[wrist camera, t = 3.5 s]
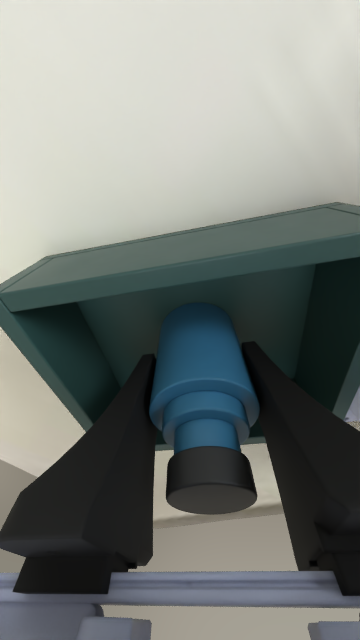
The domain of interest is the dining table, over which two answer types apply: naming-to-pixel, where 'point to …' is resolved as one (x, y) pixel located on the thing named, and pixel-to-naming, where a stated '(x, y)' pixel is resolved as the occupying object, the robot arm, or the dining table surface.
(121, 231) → the dining table surface
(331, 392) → the bin
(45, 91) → the dining table surface
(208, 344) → the bottle
